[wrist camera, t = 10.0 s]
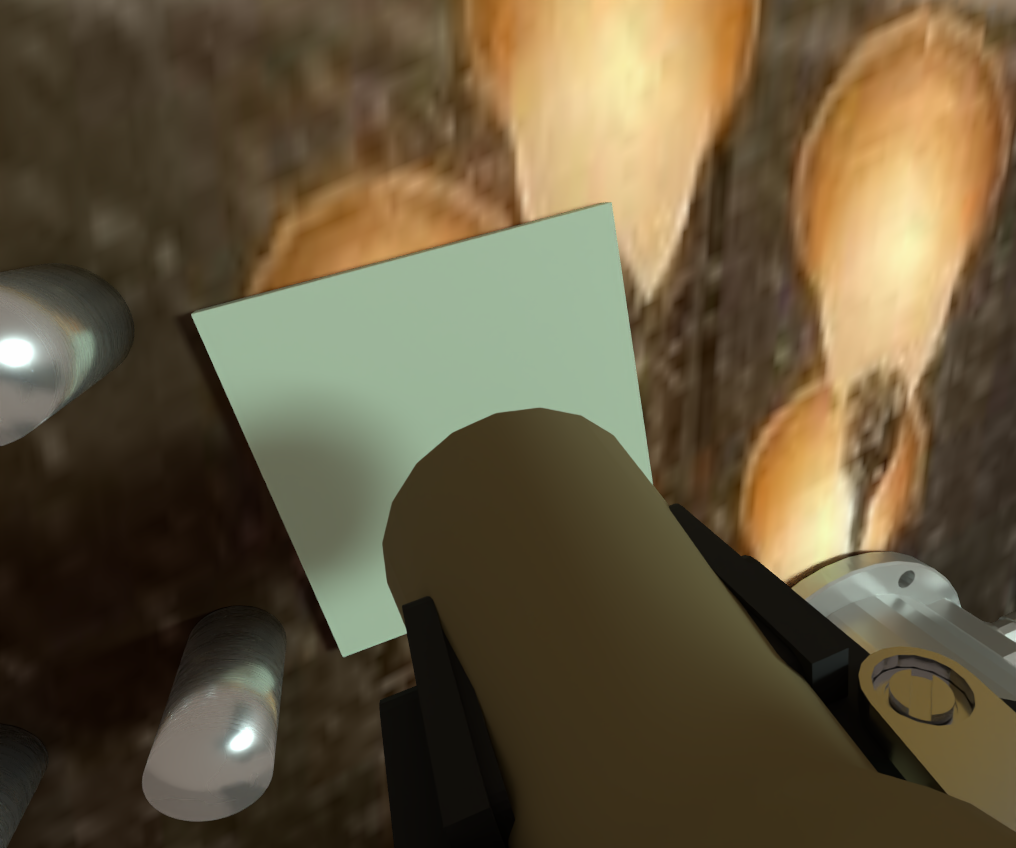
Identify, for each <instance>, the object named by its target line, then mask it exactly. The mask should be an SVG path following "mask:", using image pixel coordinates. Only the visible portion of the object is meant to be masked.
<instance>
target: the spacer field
mask: <svg viewBox="0 0 1016 848" xmlns="http://www.w3.org/2000/svg"><path fill="white" fill-rule="evenodd" d="M133 339H134V323H133V319H132V315H131V313H130V310H129V308H128V306H127V304H126V302H125V301H124V299H123V298H122V297H121V295H120V294H119V293H118V292H117V291H116V290H115V289H114V287H112V286H111V285H110V284H109V283H108V282H107V281H105V280H104V279H102V278H101V277H99V276H97V275H96V274H94V273H92V272H90V271H87V270H85V269H83V268H79V267H76V266H72V265H67V264H56V263H52V264H41V265H36V266H31V267H26V268H20V269H15V270H10V271H5V272H0V446H3V445H5V444H8V443H11V442H14V441H16V440H18V439H20V438H22V437H23V436H25V435H26V434H28V433H29V432H31V431H32V430H33V429H35V428H36V427H37V426H39V425H40V424H41V423H43V422H44V421H45V420H47V419H48V418H49V417H51V416H52V415H54V414H55V413H56V412H58V411H59V410H60V409H62V408H63V407H64V406H66V405H67V404H68V403H70V402H71V401H72V400H74V399H75V398H76V397H78V396H79V395H80V394H82V393H83V392H84V391H86V390H87V389H88V388H90V387H91V386H93V385H94V384H95V383H97V382H98V381H99V380H101V379H102V378H103V377H105V376H106V375H107V374H109V373H110V372H111V371H113V370H114V369H115V368H117V367H118V366H119V365H120V364H121V363H122V362H123V361H124V360H125V358H126V357H127V355H128V354H129V352H130V350H131V347H132V344H133ZM285 652H286V634H285V631H284V628H283V626H282V625H281V623H280V622H279V621H278V620H277V619H276V618H275V617H274V616H273V615H271V614H270V613H268V612H266V611H264V610H261V609H258V608H254V607H249V606H232V607H227V608H223V609H219V610H217V611H214V612H212V613H210V614H209V615H207V616H205V617H204V618H203V619H201V620H200V621H199V622H198V623H197V624H196V625H195V627H194V628H193V630H192V631H191V633H190V635H189V638H188V641H187V644H186V647H185V650H184V653H183V656H182V659H181V662H180V665H179V668H178V671H177V674H176V677H175V680H174V683H173V686H172V689H171V692H170V695H169V698H168V701H167V704H166V707H165V710H164V713H163V716H162V719H161V722H160V725H159V728H158V731H157V734H156V737H155V740H154V743H153V746H152V749H151V752H150V755H149V758H148V761H147V764H146V767H145V770H144V774H143V778H142V786H143V791H144V794H145V796H146V798H147V800H148V801H149V802H150V804H151V805H152V806H153V807H154V808H156V809H157V810H158V811H160V812H161V813H163V814H165V815H167V816H170V817H173V818H176V819H180V820H185V821H210V820H216V819H220V818H224V817H227V816H230V815H233V814H235V813H237V812H239V811H241V810H243V809H245V808H247V807H248V806H250V805H251V804H252V803H254V802H255V801H256V800H257V799H258V798H259V797H260V796H261V795H262V794H263V793H264V792H265V790H266V789H267V787H268V785H269V783H270V781H271V778H272V775H273V767H274V757H275V748H276V738H277V729H278V719H279V709H280V700H281V690H282V680H283V671H284V661H285ZM47 765H48V753H47V750H46V748H45V746H44V745H43V743H42V742H41V741H40V740H39V739H38V738H37V737H35V736H34V735H32V734H31V733H29V732H27V731H25V730H23V729H20V728H17V727H13V726H9V725H1V724H0V848H7V846H8V844H9V842H10V840H11V838H12V836H13V834H14V832H15V830H16V828H17V826H18V824H19V822H20V820H21V818H22V816H23V814H24V812H25V810H26V808H27V807H28V805H29V803H30V801H31V799H32V797H33V795H34V793H35V791H36V789H37V787H38V785H39V783H40V781H41V779H42V777H43V775H44V773H45V771H46V769H47Z"/></svg>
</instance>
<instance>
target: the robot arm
mask: <svg viewBox="0 0 1016 848" xmlns="http://www.w3.org/2000/svg"><path fill="white" fill-rule="evenodd" d="M669 509H670V511H671V512H672V514H673V515H674V516H675V518H676V519H677V521H678V522H679V524H680V525H681V526H682V528H683V529H684V531H685V532H686V533H687V535H688V536H689V538H690V539H691V541H692V542H693V543H694V545H695V546H696V548H697V549H698V550H699V552H700V553H701V555H702V556H703V557H704V559H705V560H706V562H707V563H708V565H709V566H710V567H711V569H712V570H713V571H714V572H715V573H716V574H717V576H718V577H719V578H720V579H721V580H722V581H723V583H724V584H725V585H726V586H727V587H728V588H729V590H730V591H731V592H732V593H733V594H734V595H735V596H736V597H737V598H738V600H739V601H740V603H741V604H742V605H743V607H744V608H745V610H746V611H747V612H748V614H749V615H750V616H751V618H752V619H753V621H754V622H755V623H756V625H757V626H758V628H759V629H760V630H761V632H762V633H763V635H764V636H765V637H766V639H767V640H768V641H769V643H770V644H771V646H772V647H773V648H774V650H775V651H776V653H777V654H778V655H779V656H780V657H781V658H782V659H783V660H784V661H785V662H786V663H787V664H788V665H789V666H790V667H791V668H792V669H794V670H795V671H796V672H798V673H799V674H800V675H802V676H803V677H804V679H805V680H806V681H807V682H808V684H809V685H810V686H811V688H812V689H813V690H814V691H815V693H816V694H817V695H818V696H819V698H820V699H821V700H822V702H823V703H824V704H825V705H826V707H827V708H828V709H829V710H830V712H831V713H832V714H833V716H834V717H835V718H836V719H837V721H838V722H839V723H840V725H841V726H842V727H843V728H844V730H845V731H846V732H847V733H848V735H849V736H850V737H851V739H852V740H853V741H854V742H855V744H856V745H857V746H858V748H859V749H860V750H861V751H862V753H863V754H864V755H865V756H866V758H867V759H868V760H869V762H870V763H871V764H872V765H873V767H874V768H875V769H876V770H877V772H878V773H881V774H885V775H888V776H892V777H895V778H899V779H902V780H906V781H909V782H912V783H916V784H919V785H923V786H926V787H929V788H932V789H934V790H937V791H940V792H942V793H945V794H947V795H950V796H953V797H955V798H958V799H960V800H963V801H965V802H968V803H971V804H972V805H974V806H975V807H977V808H979V809H980V810H982V811H983V812H985V813H986V814H988V815H990V816H991V817H993V818H994V819H996V820H998V821H999V822H1001V823H1002V824H1004V825H1005V826H1007V827H1009V828H1010V829H1012V830H1013V831H1015V832H1016V611H1013V612H1011V613H1009V614H1007V615H1005V616H1002V617H1000V618H999V620H998V621H995V622H993V623H988V622H983V621H981V620H979V619H978V618H976V617H975V616H973V615H972V614H970V613H968V612H967V611H965V610H964V609H962V608H961V605H960V602H959V599H958V596H957V592H956V591H955V590H954V588H953V587H952V585H951V584H950V582H949V581H948V579H947V578H945V577H944V576H943V575H941V574H940V573H939V572H938V571H936V570H935V569H933V568H932V567H930V566H928V565H926V564H924V563H923V562H921V561H919V560H917V559H915V558H914V557H912V556H909V555H905V554H900V553H896V552H869V553H865V554H860V555H856V556H851V557H848V558H845V559H842V560H840V561H838V562H835V563H833V564H830V565H828V566H825V567H823V568H821V569H820V570H818V571H816V572H815V573H813V574H811V575H809V576H808V577H806V578H804V579H803V580H801V581H800V582H798V583H797V584H796V585H795V586H793V587H792V588H790V587H789V586H788V585H786V584H785V583H784V582H783V581H782V580H780V579H779V578H778V577H777V576H776V575H774V574H773V573H772V572H771V571H769V570H768V569H767V568H766V567H765V566H763V565H762V564H761V563H760V562H759V561H757V560H756V559H754V558H753V557H751V556H747V555H744V556H740V555H739V554H738V553H737V552H735V551H734V550H733V549H732V548H731V547H730V546H728V545H727V544H726V543H725V542H724V541H723V540H721V539H720V538H719V537H718V536H717V535H715V534H714V533H713V532H712V531H711V530H710V529H708V528H707V527H706V526H705V525H704V524H703V523H701V522H700V521H699V520H698V519H697V518H695V517H694V516H693V515H692V514H691V513H690V512H688V511H687V510H686V509H685V508H684V507H683V506H681V505H679V504H673V505H670V506H669ZM402 610H403V615H404V621H405V626H406V631H407V637H408V642H409V647H410V652H411V658H412V663H413V668H414V673H415V679H416V684H417V686H415V687H412V688H410V689H407V690H405V691H402V692H400V693H397V694H395V695H392V696H390V697H387V698H384V699H382V700H380V718H381V727H382V737H383V746H384V755H385V765H386V774H387V783H388V792H389V802H390V811H391V820H392V830H393V839H394V848H508V839H509V836H510V833H511V830H512V827H513V825H514V822H515V817H514V814H513V811H512V808H511V805H510V801H509V798H508V795H507V792H506V789H505V785H504V782H503V779H502V776H501V773H500V769H499V766H498V763H497V760H496V757H495V753H494V750H493V747H492V744H491V741H490V738H489V734H488V731H487V728H486V725H485V722H484V718H483V715H482V712H481V709H480V706H479V702H478V699H477V696H476V693H475V690H474V688H473V686H472V684H471V682H470V680H469V678H468V676H467V674H466V673H465V671H464V669H463V667H462V665H461V663H460V661H459V659H458V658H457V656H456V654H455V652H454V650H453V648H452V646H451V644H450V643H449V641H448V639H447V637H446V635H445V633H444V631H443V629H442V628H441V625H440V621H439V618H438V614H437V611H436V608H435V604H434V601H433V599H432V598H431V597H430V596H426V597H423V598H420V599H418V600H415V601H412V602H410V603H407V604H404V605H402Z"/></svg>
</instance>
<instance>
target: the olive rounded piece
mask: <svg viewBox="0 0 1016 848" xmlns="http://www.w3.org/2000/svg"><path fill="white" fill-rule="evenodd" d="M382 547H383V555H384V563H385V571H386V579H387V584H388V586H389V589H390V591H391V593H392V596H393V598H394V601H395V603H396V606H397V608H398V610H399V613H400V615H401V618H402V620H403V623H404V625H405V621H404V615H403V610H402V605H404V604H407V603H410V602H412V601H415V600H418V599H420V598H423V597H426V596H430V597H431V598H432V599H433V601H434V604H435V608H436V611H437V614H438V618H439V621H440V625H441V628H442V629H443V631H444V633H445V635H446V637H447V639H448V641H449V643H450V644H451V646H452V648H453V650H454V652H455V654H456V656H457V658H458V659H459V661H460V663H461V665H462V667H463V669H464V671H465V673H466V674H467V676H468V678H469V680H470V682H471V684H472V686H473V688H474V690H475V693H476V696H477V699H478V702H479V706H480V709H481V712H482V715H483V718H484V722H485V725H486V728H487V731H488V734H489V738H490V741H491V744H492V747H493V750H494V753H495V757H496V760H497V763H498V766H499V769H500V773H501V776H502V779H503V782H504V785H505V789H506V792H507V795H508V798H509V801H510V805H511V808H512V811H513V814H514V817H515V822H514V825H513V827H512V830H511V833H510V836H509V839H508V848H1016V832H1015V831H1013V830H1012V829H1010V828H1009V827H1007V826H1005V825H1004V824H1002V823H1001V822H999V821H998V820H996V819H994V818H993V817H991V816H990V815H988V814H986V813H985V812H983V811H982V810H980V809H979V808H977V807H975V806H974V805H972V804H971V803H968V802H965V801H963V800H960V799H958V798H955V797H953V796H950V795H947V794H945V793H942V792H940V791H937V790H934V789H932V788H929V787H926V786H923V785H919V784H916V783H912V782H909V781H906V780H902V779H899V778H895V777H892V776H888V775H885V774H881V773H878V772H877V770H876V769H875V768H874V767H873V765H872V764H871V763H870V762H869V760H868V759H867V758H866V756H865V755H864V754H863V753H862V751H861V750H860V749H859V748H858V746H857V745H856V744H855V742H854V741H853V740H852V739H851V737H850V736H849V735H848V733H847V732H846V731H845V730H844V728H843V727H842V726H841V725H840V723H839V722H838V721H837V719H836V718H835V717H834V716H833V714H832V713H831V712H830V710H829V709H828V708H827V707H826V705H825V704H824V703H823V702H822V700H821V699H820V698H819V696H818V695H817V694H816V693H815V691H814V690H813V689H812V688H811V686H810V685H809V684H808V682H807V681H806V680H805V679H804V677H803V676H802V675H800V674H799V673H798V672H796V671H795V670H794V669H792V668H791V667H790V666H789V665H788V664H787V663H786V662H785V661H784V660H783V659H782V658H781V657H780V656H779V655H778V654H777V653H776V651H775V650H774V648H773V647H772V646H771V644H770V643H769V641H768V640H767V639H766V637H765V636H764V635H763V633H762V632H761V630H760V629H759V628H758V626H757V625H756V623H755V622H754V621H753V619H752V618H751V616H750V615H749V614H748V612H747V611H746V610H745V608H744V607H743V605H742V604H741V603H740V601H739V600H738V598H737V597H736V596H735V595H734V594H733V593H732V592H731V591H730V590H729V588H728V587H727V586H726V585H725V584H724V583H723V581H722V580H721V579H720V578H719V577H718V576H717V574H716V573H715V572H714V571H713V570H712V569H711V567H710V566H709V565H708V563H707V562H706V560H705V559H704V557H703V556H702V555H701V553H700V552H699V550H698V549H697V548H696V546H695V545H694V543H693V542H692V541H691V539H690V538H689V536H688V535H687V533H686V532H685V531H684V529H683V528H682V526H681V525H680V524H679V522H678V521H677V519H676V518H675V516H674V515H673V514H672V512H671V511H670V509H669V505H668V504H667V503H666V501H665V500H664V499H663V497H662V496H661V495H660V494H659V492H658V491H657V490H656V488H655V487H654V486H653V485H652V483H651V482H650V481H649V480H648V478H647V477H646V476H645V474H644V473H643V472H642V471H641V469H640V468H639V467H638V466H637V464H636V463H635V462H634V460H633V459H632V458H631V457H630V455H629V454H628V453H627V451H626V450H625V449H624V448H623V446H622V445H621V444H620V443H619V441H618V440H617V439H616V437H615V436H614V435H613V434H611V433H609V432H608V431H606V430H604V429H603V428H601V427H599V426H598V425H596V424H594V423H593V422H591V421H590V420H588V419H586V418H585V417H583V416H581V415H577V414H571V413H566V412H561V411H556V410H551V409H546V408H541V407H539V408H532V409H524V410H516V411H508V412H500V413H495V414H492V415H490V416H488V417H486V418H484V419H481V420H479V421H477V422H475V423H472V424H470V425H468V426H466V427H463V428H461V429H459V430H457V431H455V432H452V433H451V434H450V435H449V436H448V437H447V438H445V439H444V440H443V441H442V442H441V443H440V444H438V445H437V446H436V447H435V448H434V449H433V450H431V451H430V452H429V453H428V454H427V455H426V456H424V457H423V458H422V459H421V460H420V461H419V462H418V463H416V465H415V466H414V468H413V470H412V471H411V473H410V474H409V476H408V478H407V479H406V481H405V482H404V484H403V485H402V487H401V489H400V490H399V492H398V493H397V495H396V497H395V498H394V500H393V501H392V504H391V508H390V512H389V517H388V521H387V525H386V529H385V533H384V537H383V541H382ZM405 627H406V626H405Z"/></svg>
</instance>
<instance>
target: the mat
mask: <svg viewBox="0 0 1016 848" xmlns="http://www.w3.org/2000/svg"><path fill="white" fill-rule="evenodd" d="M191 316H192V318H193V320H194V323H195V325H196V327H197V329H198V332H199V334H200V336H201V338H202V341H203V343H204V345H205V347H206V350H207V352H208V354H209V356H210V359H211V361H212V363H213V365H214V368H215V370H216V372H217V374H218V377H219V379H220V381H221V383H222V386H223V388H224V390H225V392H226V395H227V397H228V399H229V401H230V404H231V406H232V408H233V410H234V413H235V415H236V417H237V419H238V422H239V424H240V426H241V428H242V431H243V433H244V435H245V437H246V440H247V442H248V444H249V447H250V449H251V451H252V453H253V456H254V458H255V460H256V462H257V465H258V467H259V469H260V471H261V474H262V476H263V478H264V480H265V483H266V485H267V487H268V489H269V492H270V494H271V496H272V498H273V501H274V503H275V505H276V507H277V510H278V512H279V514H280V516H281V519H282V521H283V523H284V525H285V528H286V530H287V532H288V534H289V537H290V539H291V541H292V543H293V546H294V548H295V550H296V552H297V555H298V557H299V559H300V561H301V564H302V566H303V568H304V570H305V573H306V575H307V577H308V580H309V582H310V584H311V586H312V589H313V591H314V593H315V595H316V598H317V600H318V602H319V604H320V607H321V609H322V611H323V613H324V616H325V618H326V620H327V622H328V625H329V627H330V629H331V631H332V634H333V636H334V638H335V640H336V643H337V645H338V647H339V649H340V652H341V654H342V656H343V657H345V656H348V655H350V654H353V653H356V652H358V651H361V650H364V649H366V648H369V647H372V646H374V645H377V644H380V643H382V642H385V641H388V640H390V639H393V638H396V637H398V636H401V635H404V634H406V633H407V631H406V627H405V625H404V623H403V620H402V618H401V615H400V613H399V610H398V608H397V606H396V603H395V601H394V598H393V596H392V593H391V591H390V589H389V586H388V584H387V579H386V571H385V563H384V555H383V547H382V541H383V537H384V533H385V529H386V525H387V521H388V517H389V512H390V508H391V504H392V501H393V500H394V498H395V497H396V495H397V493H398V492H399V490H400V489H401V487H402V485H403V484H404V482H405V481H406V479H407V478H408V476H409V474H410V473H411V471H412V470H413V468H414V466H415V465H416V463H418V462H419V461H420V460H421V459H422V458H423V457H424V456H426V455H427V454H428V453H429V452H430V451H431V450H433V449H434V448H435V447H436V446H437V445H438V444H440V443H441V442H442V441H443V440H444V439H445V438H447V437H448V436H449V435H450V434H451V433H452V432H455V431H457V430H459V429H461V428H463V427H466V426H468V425H470V424H472V423H475V422H477V421H479V420H481V419H484V418H486V417H488V416H490V415H492V414H495V413H500V412H508V411H516V410H524V409H532V408H539V407H541V408H546V409H551V410H556V411H561V412H566V413H571V414H577V415H581V416H583V417H585V418H586V419H588V420H590V421H591V422H593V423H594V424H596V425H598V426H599V427H601V428H603V429H604V430H606V431H608V432H609V433H611V434H613V435H614V436H615V437H616V439H617V440H618V441H619V443H620V444H621V445H622V446H623V448H624V449H625V450H626V451H627V453H628V454H629V455H630V457H631V458H632V459H633V460H634V462H635V463H636V464H637V466H638V467H639V468H640V469H641V471H642V472H643V473H644V474H645V476H646V477H647V478H648V480H649V481H650V482H651V483H652V485H653V482H652V475H651V468H650V462H649V455H648V448H647V441H646V434H645V427H644V421H643V414H642V407H641V400H640V393H639V387H638V380H637V373H636V366H635V359H634V352H633V346H632V339H631V332H630V325H629V318H628V311H627V305H626V298H625V291H624V284H623V277H622V271H621V264H620V257H619V250H618V243H617V236H616V230H615V223H614V216H613V209H612V202H605V203H599V204H596V205H592V206H588V207H584V208H581V209H577V210H573V211H569V212H566V213H562V214H558V215H554V216H550V217H547V218H543V219H539V220H535V221H532V222H528V223H524V224H520V225H517V226H513V227H509V228H505V229H502V230H498V231H494V232H490V233H486V234H483V235H479V236H475V237H471V238H468V239H464V240H460V241H456V242H453V243H449V244H445V245H441V246H437V247H434V248H430V249H426V250H422V251H419V252H415V253H411V254H407V255H404V256H400V257H396V258H392V259H389V260H385V261H381V262H377V263H373V264H370V265H366V266H362V267H358V268H355V269H351V270H347V271H343V272H340V273H336V274H332V275H328V276H325V277H321V278H317V279H313V280H309V281H306V282H302V283H298V284H294V285H291V286H287V287H283V288H279V289H276V290H272V291H268V292H264V293H261V294H257V295H253V296H249V297H245V298H242V299H238V300H234V301H230V302H227V303H223V304H219V305H215V306H212V307H208V308H204V309H200V310H197V311H195V312H193V313H192V314H191Z"/></svg>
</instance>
